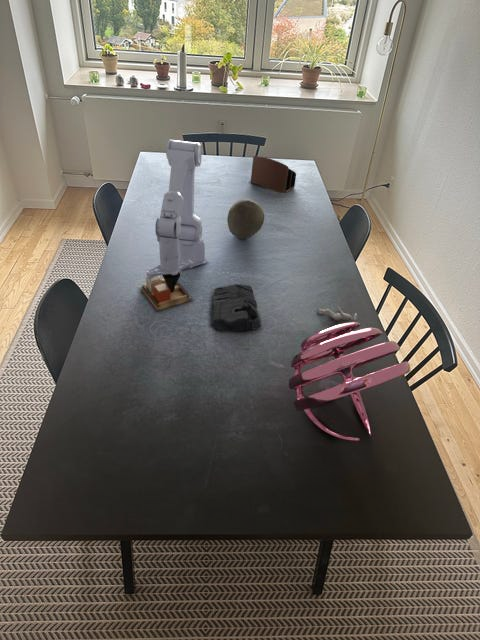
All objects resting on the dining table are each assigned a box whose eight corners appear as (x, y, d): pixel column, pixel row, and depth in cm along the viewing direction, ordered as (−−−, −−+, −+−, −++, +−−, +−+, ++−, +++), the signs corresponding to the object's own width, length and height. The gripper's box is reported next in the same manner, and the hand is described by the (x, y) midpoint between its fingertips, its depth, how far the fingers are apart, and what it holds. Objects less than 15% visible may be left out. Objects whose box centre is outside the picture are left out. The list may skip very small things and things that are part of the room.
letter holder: (284, 194, 216) (288, 165, 207) (250, 182, 224) (252, 154, 215) (294, 187, 223) (298, 159, 214) (260, 176, 231) (263, 148, 222)
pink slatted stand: (455, 416, 91) (401, 293, 97) (327, 464, 89) (279, 335, 94) (403, 418, 119) (363, 322, 124) (304, 454, 116) (268, 355, 121)
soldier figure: (321, 309, 150) (358, 308, 145) (321, 324, 149) (358, 323, 144) (316, 305, 143) (355, 303, 138) (316, 320, 142) (355, 319, 137)
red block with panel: (165, 294, 147) (164, 282, 144) (170, 301, 145) (170, 288, 142) (153, 297, 146) (153, 285, 143) (159, 304, 143) (158, 292, 140)
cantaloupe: (242, 248, 175) (245, 213, 165) (219, 234, 182) (220, 199, 173) (268, 238, 182) (272, 203, 173) (245, 224, 190) (248, 190, 180)
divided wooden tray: (173, 280, 156) (173, 275, 154) (190, 300, 147) (190, 295, 146) (141, 289, 150) (140, 284, 149) (157, 310, 142) (156, 305, 141)
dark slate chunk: (257, 290, 154) (259, 278, 151) (261, 332, 137) (262, 320, 134) (212, 288, 153) (213, 276, 150) (210, 331, 136) (211, 318, 133)
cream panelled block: (157, 284, 151) (157, 272, 148) (162, 291, 149) (162, 279, 146) (146, 288, 149) (145, 276, 146) (151, 294, 147) (150, 282, 144)
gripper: (152, 266, 131) (155, 303, 139) (196, 255, 137) (196, 291, 146) (142, 255, 135) (145, 291, 144) (186, 244, 142) (186, 280, 150)
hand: (170, 290), depth 145 cm, fingers closed
